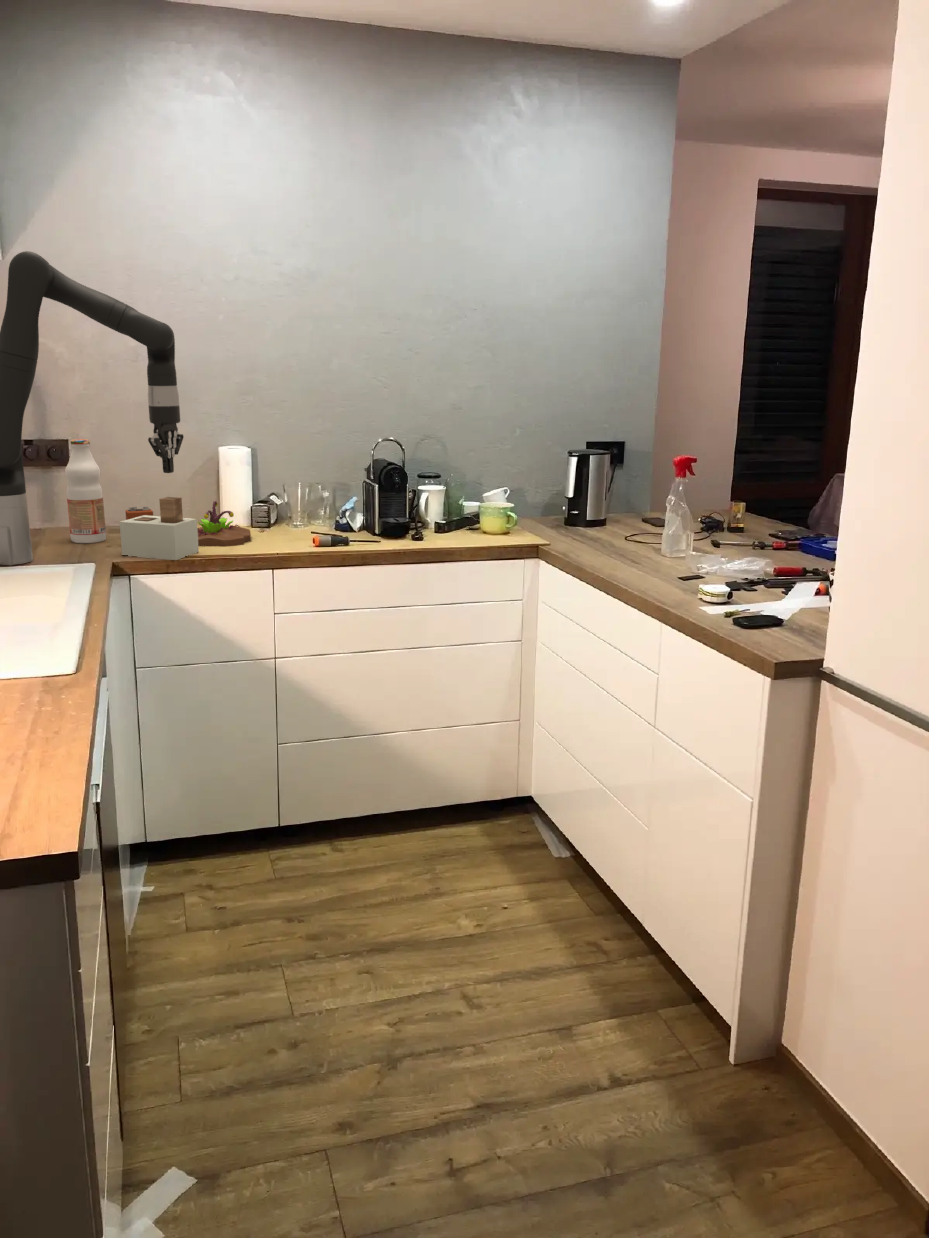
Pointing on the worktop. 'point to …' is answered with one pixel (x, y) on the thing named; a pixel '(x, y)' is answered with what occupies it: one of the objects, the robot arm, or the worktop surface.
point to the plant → (221, 531)
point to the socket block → (159, 538)
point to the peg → (171, 510)
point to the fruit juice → (84, 495)
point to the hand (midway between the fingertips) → (168, 472)
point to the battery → (138, 512)
